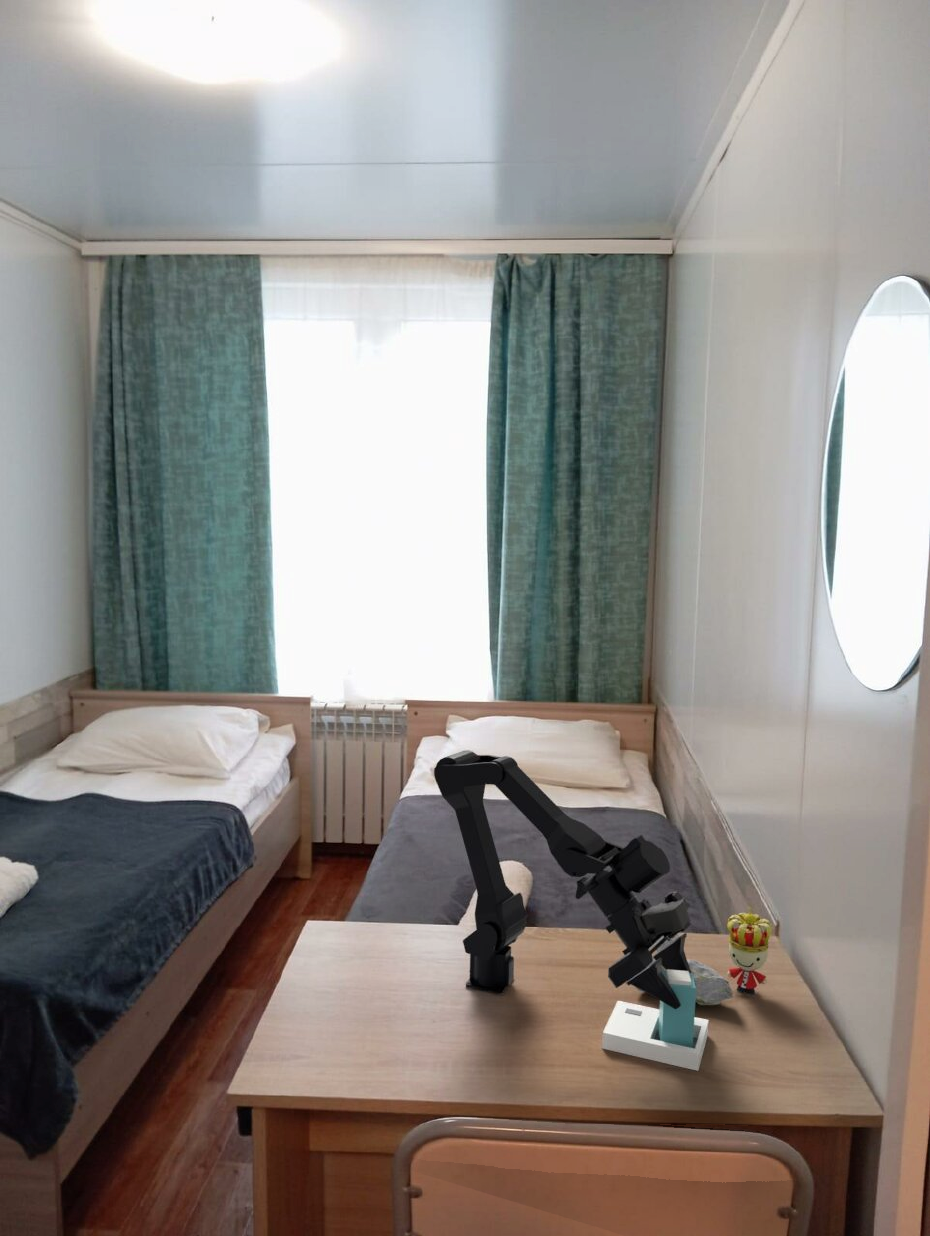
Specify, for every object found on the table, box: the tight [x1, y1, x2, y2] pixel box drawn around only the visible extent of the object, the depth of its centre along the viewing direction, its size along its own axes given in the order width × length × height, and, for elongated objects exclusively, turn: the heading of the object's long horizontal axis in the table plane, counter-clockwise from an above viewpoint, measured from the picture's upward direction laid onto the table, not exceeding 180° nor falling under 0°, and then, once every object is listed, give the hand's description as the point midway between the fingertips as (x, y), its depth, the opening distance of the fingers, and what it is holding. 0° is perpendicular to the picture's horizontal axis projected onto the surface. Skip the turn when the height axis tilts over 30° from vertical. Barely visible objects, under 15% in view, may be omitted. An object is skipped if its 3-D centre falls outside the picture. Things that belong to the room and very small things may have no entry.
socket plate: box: [601, 1000, 709, 1072], centre depth 143 cm, size 14×10×3 cm
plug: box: [658, 969, 696, 1048], centre depth 141 cm, size 4×4×10 cm
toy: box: [726, 904, 773, 996], centre depth 158 cm, size 7×7×15 cm
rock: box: [635, 958, 734, 1006], centre depth 156 cm, size 16×7×7 cm, turn 65°
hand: (686, 998), depth 140 cm, fingers closed on plug, 6 cm apart
